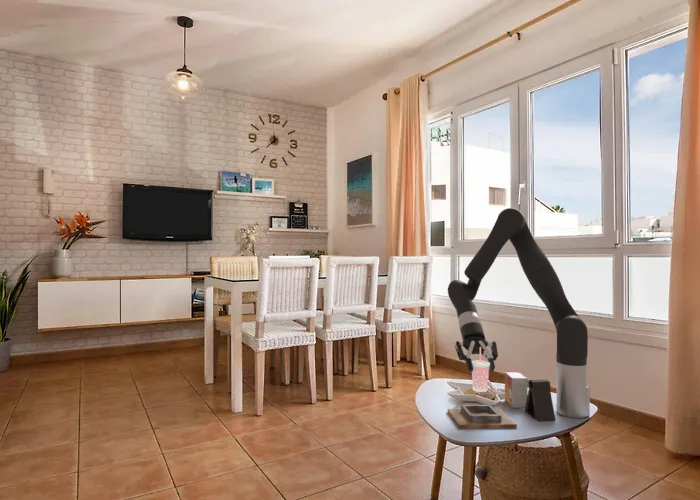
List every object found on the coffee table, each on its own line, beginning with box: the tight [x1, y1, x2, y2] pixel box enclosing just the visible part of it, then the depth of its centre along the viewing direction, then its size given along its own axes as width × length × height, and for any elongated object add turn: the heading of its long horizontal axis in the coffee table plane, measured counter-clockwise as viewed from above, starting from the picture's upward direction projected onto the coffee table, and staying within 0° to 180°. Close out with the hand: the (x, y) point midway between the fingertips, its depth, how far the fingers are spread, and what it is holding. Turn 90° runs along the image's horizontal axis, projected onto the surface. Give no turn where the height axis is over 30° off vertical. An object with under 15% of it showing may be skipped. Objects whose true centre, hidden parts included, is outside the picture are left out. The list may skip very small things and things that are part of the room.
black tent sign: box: [524, 379, 556, 422], centre depth 146 cm, size 9×6×12 cm, turn 5°
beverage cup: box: [471, 347, 490, 393], centre depth 143 cm, size 6×6×14 cm
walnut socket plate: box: [447, 404, 518, 430], centre depth 143 cm, size 18×14×3 cm
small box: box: [504, 371, 529, 409], centre depth 158 cm, size 8×6×10 cm
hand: (482, 370), depth 141 cm, fingers closed on beverage cup, 6 cm apart
